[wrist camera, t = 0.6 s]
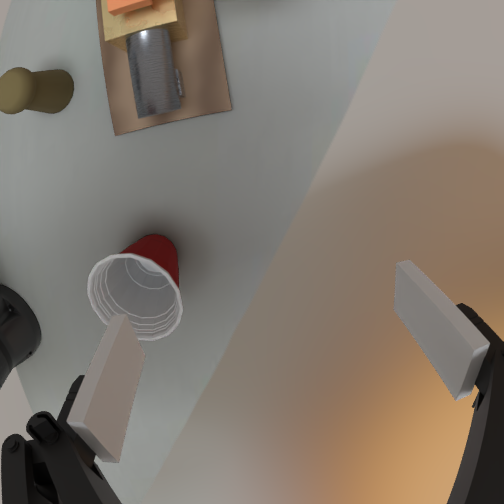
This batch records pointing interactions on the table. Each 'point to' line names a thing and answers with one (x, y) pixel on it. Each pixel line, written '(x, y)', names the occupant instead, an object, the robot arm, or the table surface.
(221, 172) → the table surface
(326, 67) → the table surface
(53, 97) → the cork
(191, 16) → the mounting board
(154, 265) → the plastic cup
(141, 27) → the valve body
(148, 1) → the valve lever
